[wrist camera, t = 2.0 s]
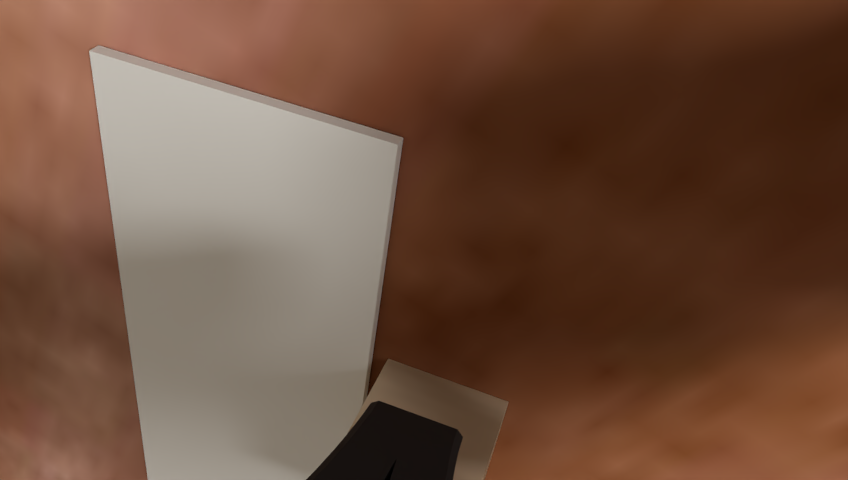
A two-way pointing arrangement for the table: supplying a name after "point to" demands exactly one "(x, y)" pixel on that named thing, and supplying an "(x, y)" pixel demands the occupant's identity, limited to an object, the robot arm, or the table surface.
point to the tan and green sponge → (444, 411)
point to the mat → (242, 267)
